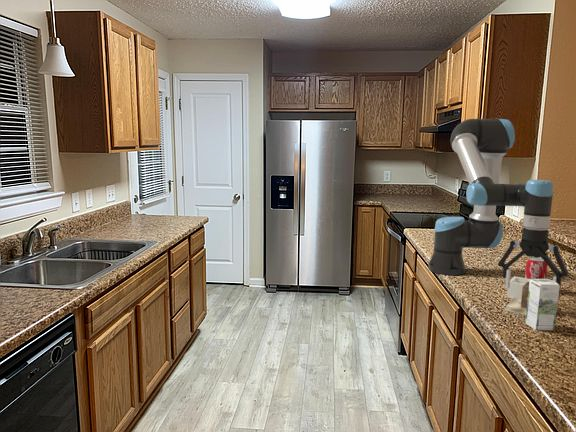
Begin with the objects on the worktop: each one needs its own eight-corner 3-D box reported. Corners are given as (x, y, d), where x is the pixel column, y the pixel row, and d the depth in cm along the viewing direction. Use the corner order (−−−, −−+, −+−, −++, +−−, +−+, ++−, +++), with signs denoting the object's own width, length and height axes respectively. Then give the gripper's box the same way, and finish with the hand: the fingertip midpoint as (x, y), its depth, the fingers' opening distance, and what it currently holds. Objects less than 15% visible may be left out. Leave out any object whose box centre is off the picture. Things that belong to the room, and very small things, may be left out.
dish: (506, 297, 160) (508, 281, 159) (513, 291, 166) (514, 276, 166) (534, 303, 154) (536, 287, 153) (540, 297, 161) (541, 281, 160)
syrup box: (542, 323, 136) (547, 277, 134) (555, 331, 130) (560, 283, 128) (524, 323, 136) (529, 277, 134) (535, 331, 130) (540, 283, 128)
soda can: (522, 290, 169) (525, 259, 167) (525, 285, 174) (528, 255, 173) (543, 293, 165) (546, 262, 163) (546, 289, 170) (549, 258, 168)
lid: (505, 309, 147) (507, 285, 146) (513, 300, 155) (515, 278, 154) (543, 317, 140) (545, 292, 139) (549, 308, 148) (552, 284, 147)
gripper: (491, 225, 148) (486, 286, 152) (580, 234, 133) (572, 303, 136) (497, 222, 154) (492, 282, 157) (583, 231, 139) (576, 297, 142)
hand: (529, 292), depth 147 cm, fingers open, 13 cm apart
